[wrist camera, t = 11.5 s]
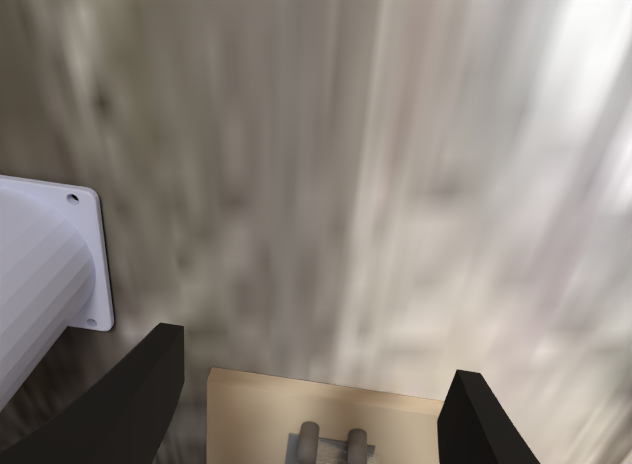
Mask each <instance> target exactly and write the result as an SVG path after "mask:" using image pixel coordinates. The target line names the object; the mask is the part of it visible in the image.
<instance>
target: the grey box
mask: <svg viewBox="0 0 632 464" xmlns="http://www.w3.org/2000/svg"><path fill="white" fill-rule="evenodd" d="M347 463H348V448H346V447H343V446H339V445H335V444H332V443H328V442H324V441H321V440H318V449H317V460H316V464H347ZM298 464H299V463H298ZM367 464H379V456H375V455H372V454H368V453H367Z"/></svg>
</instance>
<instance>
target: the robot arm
mask: <svg viewBox="0 0 632 464" xmlns="http://www.w3.org/2000/svg"><path fill="white" fill-rule="evenodd" d="M71 194H73V195H75V196H76V197H78V200H79V201H77V200H75V199H74V198H73V197H72V195H71ZM92 319H93V320H95V321H93V320H92ZM113 324H114V315H113V307H112V299H111V291H110V282H109V274H108V266H107V258H106V250H105V242H104V233H103V225H102V217H101V209H100V201H99V197H98V195H97V193H96V192H95V191H94V190H92V189H90V188H87V187H81V186H74V185H67V184H60V183H53V182H46V181H39V180H33V179H26V178H19V177H12V176H5V175H0V412H1V411H2V409H3V408H4V407H5V406H6V404H7V403H8V402H9V400H10V399H11V398H12V397H13V395H14V394H15V393H16V391H17V390H18V389H19V388H20V386H21V385H22V384H23V382H24V381H25V380H26V379H27V377H28V376H29V375H30V373H31V372H32V371H33V370H34V368H35V367H36V366H37V364H38V363H39V362H40V361H41V359H42V358H43V357H44V355H45V354H46V353H47V352H48V350H49V349H50V348H51V346H52V345H53V344H54V342H55V341H56V340H57V339H58V337H59V336H60V335H61V333H62V332H63V331H64V330H65V328H66V327H67V326H72V327H79V328H86V329H92V330H99V331H108V330H110V329H111V327H112V326H113ZM183 384H184V326H179V325H172V324H166V323H160V324H158V325H157V326H156V327H155V328H154V329H153V330H152V331H151V332H150V333H149V334H148V335H147V336H146V337H145V338H144V339H143V340H142V341H141V342H140V343H139V344H138V345H137V346H136V347H134V348H133V349H132V350H131V351H130V352H129V353H128V354H127V355H126V356H125V357H124V358H123V359H122V360H121V361H120V362H119V363H117V364H116V365H115V366H114V367H113V368H112V369H111V370H110V371H109V372H107V373H106V374H105V375H104V376H103V377H102V378H101V379H100V380H98V381H97V382H96V383H95V384H94V385H93V386H91V387H90V388H89V389H88V390H86V391H85V392H84V393H83V394H82V395H80V396H79V397H78V398H77V399H75V400H74V401H73V402H72V403H71V404H69V405H68V406H67V407H65V408H64V409H63V410H62V411H60V412H59V413H58V414H56V415H55V416H54V417H52V418H51V419H50V420H48V421H47V422H45V423H44V424H43V425H41V426H40V427H38V428H37V429H36V430H34V431H33V432H31V433H30V434H28V435H27V436H25V437H24V438H22V439H21V440H19V441H18V442H16V443H15V444H13V445H12V446H10V447H9V448H7V449H5V450H4V451H2V452H1V453H0V464H151V463H152V461H153V459H154V457H155V455H156V453H157V450H158V448H159V446H160V444H161V442H162V440H163V437H164V435H165V433H166V431H167V429H168V426H169V424H170V422H171V420H172V417H173V414H174V412H175V409H176V406H177V403H178V400H179V397H180V393H181V390H182V387H183ZM437 435H438V452H439V463H440V464H540V462H539V461H538V460H537V458H536V457H535V456H534V454H533V453H532V451H531V450H530V448H529V447H528V445H527V444H526V443H525V441H524V440H523V438H522V437H521V435H520V434H519V432H518V431H517V429H516V428H515V426H514V425H513V423H512V422H511V420H510V419H509V417H508V416H507V414H506V413H505V411H504V409H503V408H502V406H501V405H500V403H499V402H498V400H497V398H496V397H495V395H494V394H493V392H492V390H491V389H490V387H489V386H488V384H487V382H486V381H485V379H484V378H483V376H482V375H481V373H476V372H470V371H464V370H457V371H456V373H455V376H454V378H453V381H452V384H451V386H450V389H449V391H448V394H447V396H446V399H445V402H444V404H443V407H442V409H441V412H440V414H439V417H438V420H437Z"/></svg>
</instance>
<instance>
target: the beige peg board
mask: <svg viewBox="0 0 632 464" xmlns="http://www.w3.org/2000/svg"><path fill="white" fill-rule="evenodd" d="M443 404H444V402H443V401H437V400H430V399H423V398H417V397H410V396H403V395H397V394H390V393H383V392H377V391H370V390H363V389H356V388H350V387H343V386H336V385H330V384H323V383H316V382H310V381H303V380H296V379H289V378H283V377H276V376H269V375H263V374H256V373H249V372H243V371H236V370H229V369H223V368H216V367H212V369H211V371H210V374H209V377H208V380H207V464H298V463H299V464H316V460H317V449H318V440H321V441H324V442H328V443H332V444H335V445H339V446H343V447H346V448H348V463H347V464H367V453H368V454H372V455H375V456H379V464H440V463H439V452H438V435H437V420H438V417H439V414H440V412H441V409H442V407H443Z"/></svg>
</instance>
